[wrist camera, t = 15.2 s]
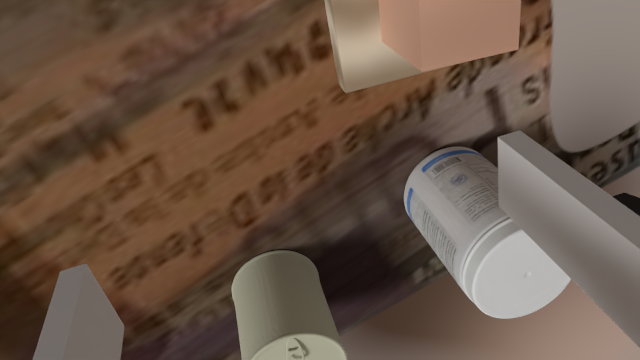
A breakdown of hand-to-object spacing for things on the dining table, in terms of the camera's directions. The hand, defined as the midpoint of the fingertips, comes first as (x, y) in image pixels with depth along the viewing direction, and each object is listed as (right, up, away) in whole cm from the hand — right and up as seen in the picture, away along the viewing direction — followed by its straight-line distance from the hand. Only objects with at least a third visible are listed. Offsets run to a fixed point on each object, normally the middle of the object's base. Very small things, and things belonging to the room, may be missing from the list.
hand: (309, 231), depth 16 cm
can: (-4, -9, +37) cm, 39 cm away
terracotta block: (+8, +16, +23) cm, 29 cm away
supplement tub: (+13, +1, +36) cm, 38 cm away
